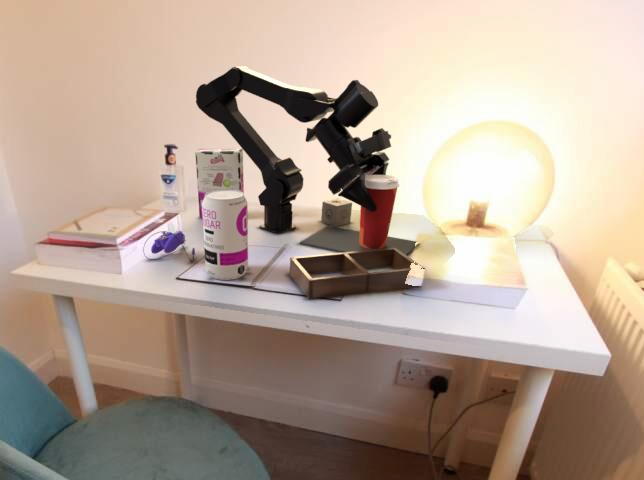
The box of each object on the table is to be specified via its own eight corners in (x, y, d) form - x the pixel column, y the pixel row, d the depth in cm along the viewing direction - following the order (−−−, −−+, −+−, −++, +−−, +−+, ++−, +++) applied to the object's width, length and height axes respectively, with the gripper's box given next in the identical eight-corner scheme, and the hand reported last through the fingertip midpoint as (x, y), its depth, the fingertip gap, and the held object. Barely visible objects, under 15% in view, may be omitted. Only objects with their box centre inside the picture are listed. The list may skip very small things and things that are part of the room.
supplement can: (253, 267, 98) (253, 190, 90) (239, 283, 91) (238, 201, 83) (215, 263, 100) (211, 187, 92) (199, 278, 93) (194, 198, 86)
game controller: (132, 239, 102) (172, 220, 106) (149, 275, 105) (187, 255, 109) (149, 237, 93) (192, 217, 97) (167, 276, 96) (208, 255, 100)
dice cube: (336, 218, 125) (337, 198, 123) (350, 223, 121) (352, 202, 119) (321, 221, 123) (322, 201, 120) (335, 226, 119) (336, 206, 117)
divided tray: (289, 274, 94) (290, 257, 92) (392, 264, 98) (395, 247, 96) (308, 299, 85) (309, 280, 83) (422, 286, 88) (425, 268, 87)
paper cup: (398, 246, 105) (408, 179, 98) (371, 253, 102) (380, 184, 95) (372, 236, 111) (379, 172, 104) (346, 242, 108) (352, 176, 101)
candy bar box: (244, 214, 129) (243, 148, 121) (241, 219, 125) (240, 151, 117) (203, 213, 131) (199, 147, 123) (198, 218, 127) (194, 151, 119)
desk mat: (299, 244, 109) (299, 242, 109) (327, 227, 119) (327, 225, 119) (397, 263, 98) (397, 262, 98) (419, 243, 108) (419, 242, 108)
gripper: (348, 120, 89) (399, 190, 89) (385, 110, 102) (430, 171, 102) (307, 161, 97) (354, 225, 97) (347, 147, 110) (388, 204, 110)
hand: (383, 205), depth 102 cm, fingers open, 9 cm apart
